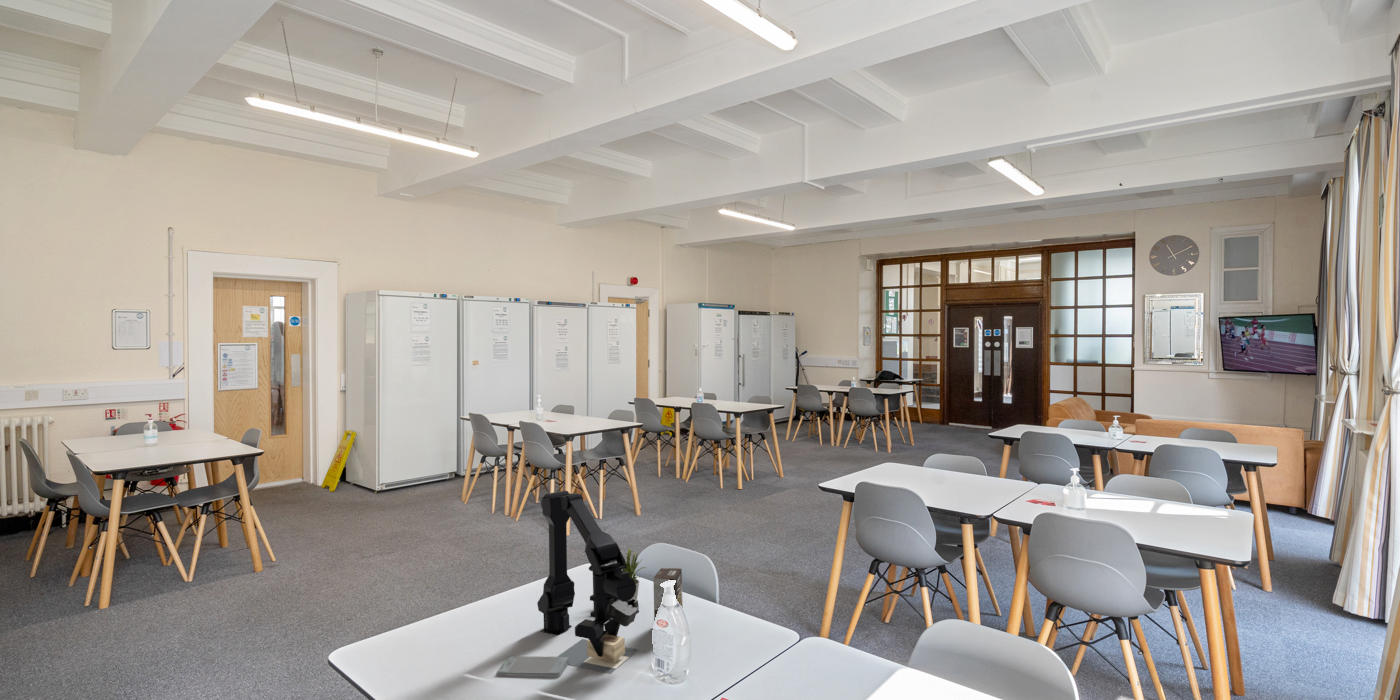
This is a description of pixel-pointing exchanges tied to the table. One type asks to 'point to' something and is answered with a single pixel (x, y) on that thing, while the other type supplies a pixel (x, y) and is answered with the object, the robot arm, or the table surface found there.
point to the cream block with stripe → (609, 648)
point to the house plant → (632, 570)
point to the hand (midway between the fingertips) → (606, 651)
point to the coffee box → (658, 590)
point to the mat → (582, 660)
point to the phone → (533, 666)
